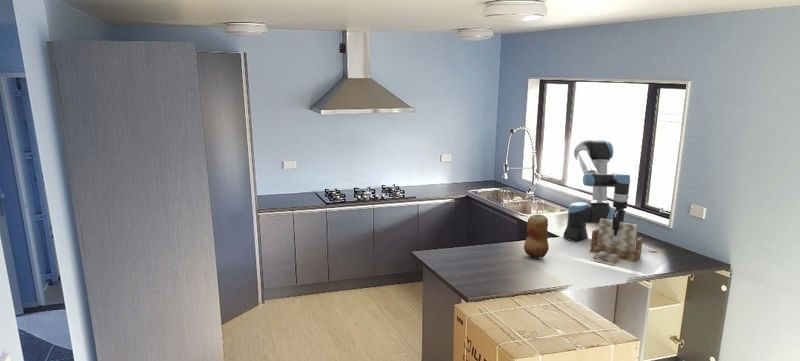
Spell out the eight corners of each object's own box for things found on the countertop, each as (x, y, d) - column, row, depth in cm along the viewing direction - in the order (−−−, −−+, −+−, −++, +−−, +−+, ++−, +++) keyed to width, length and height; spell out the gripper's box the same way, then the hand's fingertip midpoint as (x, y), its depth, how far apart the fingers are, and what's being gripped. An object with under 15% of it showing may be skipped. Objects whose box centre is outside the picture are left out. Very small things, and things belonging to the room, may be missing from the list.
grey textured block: (592, 262, 286) (593, 257, 285) (597, 259, 291) (598, 254, 290) (614, 267, 278) (615, 262, 277) (619, 264, 283) (619, 259, 283)
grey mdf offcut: (596, 257, 284) (597, 253, 284) (600, 255, 289) (601, 250, 288) (613, 261, 279) (613, 257, 278) (616, 258, 283) (617, 254, 283)
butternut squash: (518, 257, 289) (521, 214, 285) (530, 252, 299) (533, 211, 295) (541, 263, 280) (544, 219, 276) (552, 258, 290) (555, 215, 285)
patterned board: (597, 245, 299) (599, 219, 296) (598, 244, 301) (601, 218, 298) (632, 253, 286) (635, 225, 283) (634, 252, 288) (637, 224, 285)
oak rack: (588, 254, 298) (590, 231, 296) (596, 249, 307) (598, 228, 305) (634, 264, 281) (637, 241, 279) (641, 259, 290) (644, 237, 288)
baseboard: (638, 253, 303) (656, 253, 305) (639, 249, 303) (657, 248, 305) (609, 238, 333) (626, 238, 335) (609, 234, 333) (626, 234, 335)
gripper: (622, 203, 280) (618, 244, 285) (631, 199, 292) (627, 239, 296) (608, 201, 285) (604, 241, 289) (618, 197, 297) (614, 236, 301)
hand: (616, 240), depth 293 cm, fingers closed on patterned board, 2 cm apart
